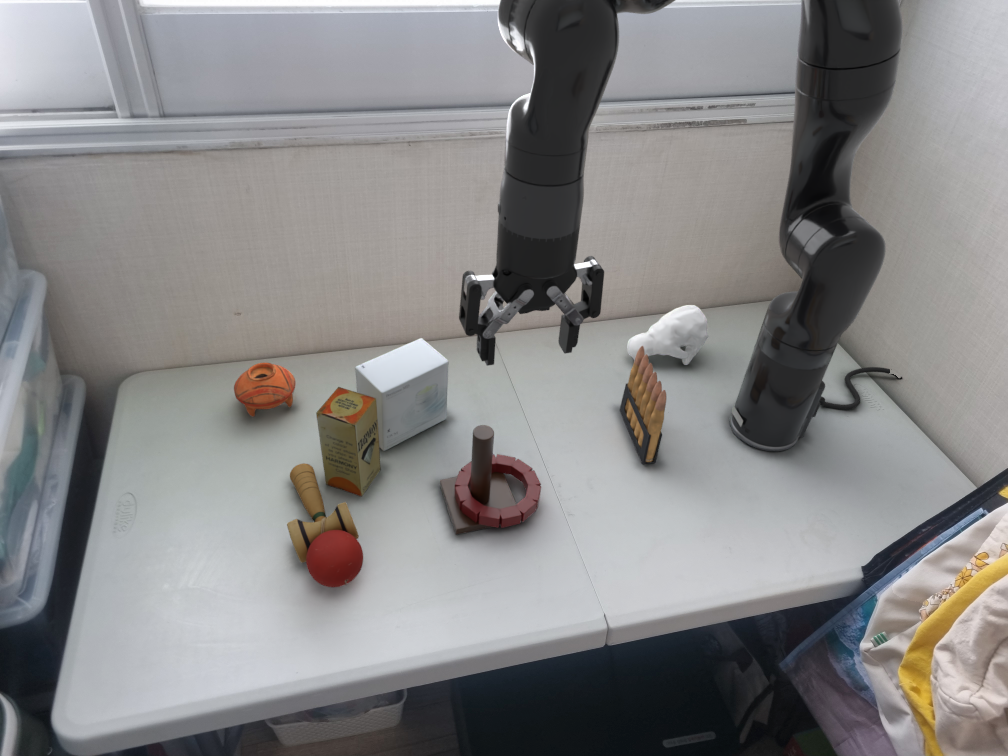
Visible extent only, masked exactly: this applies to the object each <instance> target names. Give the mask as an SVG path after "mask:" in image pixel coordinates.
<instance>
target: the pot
mask: <svg viewBox="0 0 1008 756" xmlns="http://www.w3.org/2000/svg"><path fill="white" fill-rule="evenodd" d="M295 389H296V379H295V376H294V375H293V373H292V372H291V371H290V370H288V369H287V368H285V367H284V366H282V365H279V364H274V363H271V362H259V363H256V364H253V365H252V366H250V367H248V369H247V370H245V371H243V373H241V374H240V376H238V377H237V379H236V381H235V383H234V385H233V393H234V396H235V399H236V401H238V402H240V403H241V404H242V405H244V407H245V410H246V413H248V415H249V416H250V417H256V416H255V415H256V410H270V409H275V408H277V407H279V406H281V405H282V404H284V403H285V404H286V405H287V407H288V408H291V407H292V405H293V394H294V392H295Z"/></svg>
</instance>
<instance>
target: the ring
mask: <svg viewBox="0 0 1008 756" xmlns="http://www.w3.org/2000/svg"><path fill="white" fill-rule="evenodd" d="M493 472H499V473H504V475H505V474H506V475H511V476H512V477H513V478H515V479H516V480H518V481H519V482H520V483H521V484H522V485H523V488H524V490H525V497H523V498H522V499H521V500H519V501H518V502H516V505H515V506H510V507H506V508H501V509H498V508H493V507H488V506H484V505H482V504H481V503H480V502H478V501H477V500H476V499H474V498H473V497H472V495H471V492H470V490H469V488H470V484H471V461H469V462H468V463H467V464H465V465H464V466H463V467H461V468H460V470H459V471H458V474H457V476H456V477H457V479H456V482H455V498H456V501H457V503H458V506H459V509H460V510H462V513H464V514H465V515H466V516H468V517H469V518H470V519H472V520H473V521H474V522H476V523H477V522H478V521H479V524H481V525H486V526H491V527H490V528H497V529H499V528H501V529H503V528H509V527H511V526H517V525H520V524H522V523H524V522H525V521H526V520H527V519H528V518H530V517H531V516H532V515H533V514H534V513H536V510H538V507H539V502H540V498H541V492H542V486H541V485H542V484H541V481H540V479H539V477H538V475H537V473H536V471H535V470H533V467H532V466H530V465H528V464H527V463H525V462H524V461H522V460H521V459H519V458H516V457H514V456H509V455H505V454H498V453H497V454H496V455H495V454H494V453H493V458H492V472H491V473H493ZM521 522H522V523H521ZM499 525H500V526H499Z"/></svg>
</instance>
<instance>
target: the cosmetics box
mask: <svg viewBox="0 0 1008 756" xmlns="http://www.w3.org/2000/svg"><path fill="white" fill-rule="evenodd" d="M449 362H450V361H449V360H448V359H447V358H446V357H445V356H444V355H443V354H442V353H440V352H439V351H438V350H437V349H435V347H433V346H432V345H431V344H429V342H427V341H426V340H425V339H424V338H422V337H420V338H418V339H415V340H413V341H411V342H408V343H407V344H404V345H401V346H400V347H397V348H395V349H393V350H390V351H388V352H385V353H383V354H381V355H379V356H376V357H374V358H371V359H369V360H368V361H365V362H362V363H360V364H358V365H356V366H355V367H354V371H355V384H356V392H357V393H361V394H364V395H367V396H370V397H374V398H376V404H377V419H378V434H379V449H381V450H382V451H383V452H385V451H387V450H389V449H391V448H393V447H395V446H397V445H399V444H401V443H402V442H405V441H406V440H408V439H410V438H413V437H414V436H416V435H418V434H420V433H421V432H424V431H426V430H428V429H429V428H431V427H433V426H435V425H437V424H439V423H442V422H443V421H445V420H447V419H448V418H447V417H448V416H447V415H448V414H447V413H448V411H447V410H448V407H447V406H448V390H449V389H448V387H449V386H448V385H449V384H448V382H449Z"/></svg>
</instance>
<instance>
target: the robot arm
mask: <svg viewBox="0 0 1008 756" xmlns="http://www.w3.org/2000/svg"><path fill="white" fill-rule="evenodd" d="M800 1H801V3H800V21H799V22H800V23H799V32H798V33H799V34H798V40H797V41H798V42H797V51H796V65H795V79H794V80H795V81H794V82H795V83H794V113H793V124H792V134H791V135H792V136H791V151H790V152H791V153H790V166H789V172H788V173H789V174H788V180H787V185H786V189H785V196H784V201H783V205H782V211H781V216H780V223H779V229H778V230H779V231H778V245H779V251H780V253H781V255H782V257H783V259H784V260H785V262H786V263H787V264H788V266H790V267H791V268H792V270H793V271H794V272H795V273H796V274H797V275H798V277H799V278H800V279H801V283H800V285H799V288H798V290H797V291H796V290H794V291H786V292H781V293H780V294H778V295H776V296H775V297H774V298H772V299H771V301H770V302H769V304H768V306H767V309H766V312H765V316H764V318H763V320H762V324H761V326H760V328H759V329H760V330H759V332H758V336H757V339H756V341H755V345H754V347H753V350H752V354H751V356H750V359H749V362H748V365H747V368H746V371H745V374H744V377H743V380H742V383H741V385H740V388H739V392H738V394H737V397H736V399H735V403H734V405H733V406H732V408H731V412H730V414H729V415H730V416H729V426H730V428H731V430H732V432H733V433H734V435H735V436H736V437H737V438H738V439H740V441H742V442H744V443H745V444H747V445H749V446H751V447H752V448H755V449H758V450H762V451H767V452H783V451H786V450H789V449H791V448H792V447H794V446H795V445H796V444H797V442H798V440H799V439H801V438H804V437H805V435H806V432H807V430H808V428H809V425H810V424H811V421H812V418H816V416H817V413H818V412H819V409H820V407H824V408H828V409H833V410H840V411H841V410H842V411H847V410H853V409H856V408H858V407H859V405H860V404H861V396H860V394H859V392H858V390H857V389H856V388H855V386H854V385H853V383H852V381H851V378H852V377H854V376H857V375H861V374H864V373H884V374H888V375H890V376H893V377H895V378H896V379H897V380H900V379H899V378H898V377H897V376H896V375H894V374H889V373H890V369H891V368H886V367H879V366H868V367H861V368H856V369H853V370H851V371H849V372H848V373H846V375H845V376H844V383H845V385H846V387H847V388H848V390H849V392H850V393H851V395H852V396H853V398H854V402H852V403H848V404H839V403H832V402H828V401H826V398H825V397H823V396H822V395H823V393H824V390H825V388H826V383H825V382H824V377H825V374H826V373H827V370H828V367H829V365H830V362H831V360H832V358H833V355H834V353H835V351H836V349H837V346H838V344H839V342H840V340H841V338H842V335H843V334H844V333H845V332H846V331H847V330H848V328H850V327H851V325H853V323H854V322H855V320H856V319H857V318H858V315H859V314H860V312H861V310H862V308H863V306H864V304H865V302H866V300H867V298H868V296H869V294H870V293H871V290H872V289H873V287H874V285H875V283H876V281H877V278H878V276H879V275H880V272H881V269H882V267H883V264H884V261H885V257H886V250H887V249H886V247H887V245H886V241H885V238H884V236H883V235H882V234H881V232H880V231H879V230H878V229H877V228H876V227H874V226H873V225H872V224H871V223H870V222H869V221H867V219H865V218H864V217H863V216H862V215H861V214H860V213H858V211H857V210H855V209H854V208H853V205H852V201H851V183H852V175H853V166H854V163H855V157H856V154H857V152H858V150H859V148H860V147H861V145H862V144H863V143H864V141H865V140H866V139H867V137H868V136H869V135H870V134H871V132H872V131H873V130H874V128H875V127H876V126H877V124H878V123H879V122H880V120H881V119H882V117H883V116H884V114H885V113H886V111H887V109H888V107H889V105H890V102H891V100H892V97H893V94H894V90H895V86H896V82H897V75H898V69H899V62H900V55H901V50H902V42H903V34H904V33H903V31H904V30H903V27H904V25H903V16H902V11H901V6H900V2H899V0H800ZM674 2H676V0H500V1H499V5H498V9H497V24H498V28H499V32H500V35H501V38H502V39H503V40H504V43H506V45H507V46H508V47H509V48H510V49H511V50H512V51H513V52H514V53H516V54H517V55H518V56H519V57H521V58H522V59H524V60H525V61H527V62H528V63H529V64H531V65H532V66H533V81H532V85H531V90H530V93H526V94H524V95H522V96H520V97H518V98H517V99H516V100H515V101H514V102H513V103H512V104H511V106H510V109H509V111H508V114H507V121H506V128H505V129H506V130H505V142H504V143H505V144H504V160H503V161H504V162H503V173H502V178H501V181H500V187H499V200H498V202H497V214H498V216H497V217H498V218H497V219H498V220H497V234H496V235H497V236H496V237H497V239H496V253H495V254H496V255H495V256H496V257H495V258H496V263H495V267H494V269H493V271H492V272H491V274H482V275H481V274H480V275H476V274H475V272H474V271H473V270H466V271H465V272H464V273H463V274H462V280H461V290H460V302H459V312H458V320H459V322H460V325H461V326H462V329H463V331H464V333H465V335H466V336H468V337H473V336H475V335H476V352H477V355H478V356H479V358H480V360H481V362H484V363H485V365H486V366H487V367H488V366H494V365H495V357H496V356H495V355H496V339H497V337H496V334H497V332H498V331H499V330H501V328H502V326H504V325H508V324H509V323H510V322H511V321H512V320H513V318H514V317H515V316H516V315H517V314H519V315H523V314H525V315H526V314H529V313H532V312H534V311H536V312H537V311H538V312H545V311H550V308H553V307H554V306H557V308H558V309H559V310H560V311H561V313H562V314H561V315H560V316H561V317H560V324H559V332H558V333H559V335H558V346H559V347H560V349H561V351H562V352H563V354H571V353H572V352H573V348H576V346H577V345H578V342H579V335H580V328H581V324H582V323H584V320H586V319H588V318H591V319H597V318H598V317H600V315H601V312H602V300H603V290H604V279H605V270H604V269H603V267H602V266H601V265H600V263H599V262H598V260H597V259H596V258H595V257H594V256H593V255H588V256H586V257H585V258H584V259H583V262H579V263H576V259H577V253H578V245H579V237H580V231H581V230H580V228H581V221H582V214H583V207H584V197H585V183H584V182H585V181H584V179H585V167H586V160H587V152H588V144H589V137H590V136H589V134H590V128H591V125H592V123H593V121H594V118H595V116H596V114H597V112H598V109H599V108H600V105H601V102H602V98H603V96H604V93H605V91H606V89H607V85H608V83H609V80H610V78H611V75H612V73H613V69H614V66H615V64H616V60H617V56H618V52H619V46H620V25H619V24H620V22H619V16H618V14H622V13H629V14H630V13H631V14H637V15H649V14H650V15H651V14H654V13H657V12H659V11H661V10H662V9H664V8H666V7H668V6H670V5H671V4H672V3H674ZM577 278H578V279H579V280H580V282H581V293H580V301H577V302H576V303H574V302H573V300H571V298H570V297H569V296H568V295H567V291H568V290H569V289H570V287H572V285H574V283H575V282H576V280H577ZM491 289H494V292H493V293H492V295H491V296H490V297H489V299H488V300H487V305H486V306H485V308H484V309H483V310H482V311H481V312H480V310H481V301H484V300H485V299H486V297H487V293H488V292H489V291H490V290H491ZM504 303H506V305H505V306H504Z"/></svg>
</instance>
